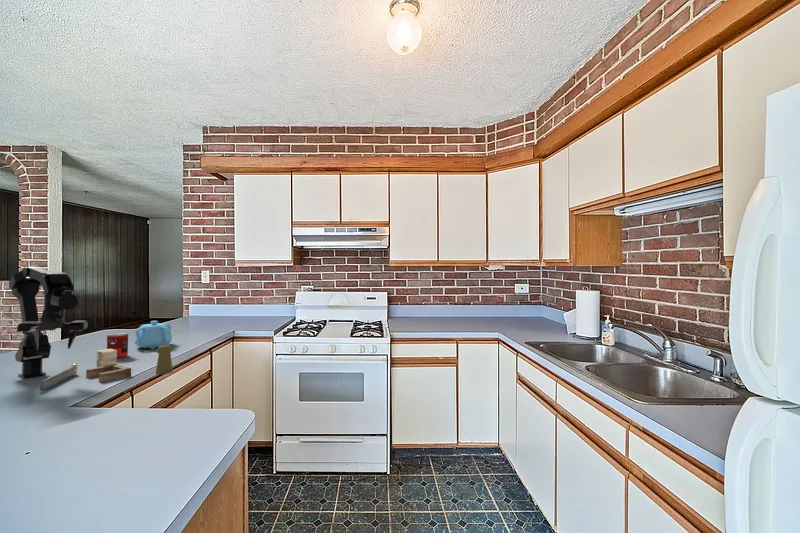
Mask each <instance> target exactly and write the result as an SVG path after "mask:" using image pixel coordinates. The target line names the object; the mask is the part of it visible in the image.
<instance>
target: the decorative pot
mask: <svg viewBox="0 0 800 533" xmlns="http://www.w3.org/2000/svg"><path fill="white" fill-rule="evenodd" d="M171 330H172V326H171V324H168V323H160V322H158V320H151V321H150V323H147V324H141V325H140V326H139V327H138V328H137V329H136V330H135V338H134V344H135V345H136V346H137V347H139V348H140V349H145V348H149V350H154V349H155V350H156V348H158V347H159V346H161V345H170V344H171V342H172V341H173V335H172V332H171Z"/></svg>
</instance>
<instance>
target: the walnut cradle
mask: <svg viewBox="0 0 800 533" xmlns="http://www.w3.org/2000/svg"><path fill="white" fill-rule="evenodd" d="M85 372H86V374H85V377H86V378H88V379H90V378H95V377H98V382H100V383H105V382H106V383H107V382H110V381H114V380H119V379H123V378H128V377H131V376H132V368H131V367H128V366H124V365H121V364H118V363H117V364H112V365H107V366H102V367H97V366H96V367H93V368H87V369H86V371H85Z"/></svg>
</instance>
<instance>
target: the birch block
mask: <svg viewBox="0 0 800 533" xmlns="http://www.w3.org/2000/svg"><path fill="white" fill-rule="evenodd" d="M117 361H118V359H117V350H114V349H107V348H106V349H100V350H96V367H102V366H107V365H112V364H118V362H117Z"/></svg>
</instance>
